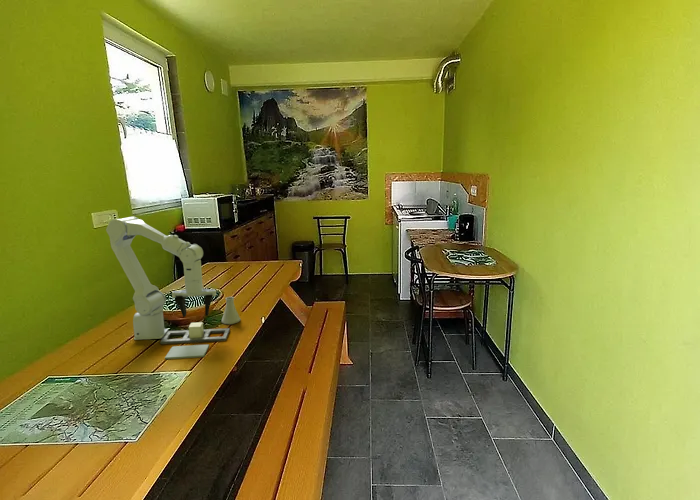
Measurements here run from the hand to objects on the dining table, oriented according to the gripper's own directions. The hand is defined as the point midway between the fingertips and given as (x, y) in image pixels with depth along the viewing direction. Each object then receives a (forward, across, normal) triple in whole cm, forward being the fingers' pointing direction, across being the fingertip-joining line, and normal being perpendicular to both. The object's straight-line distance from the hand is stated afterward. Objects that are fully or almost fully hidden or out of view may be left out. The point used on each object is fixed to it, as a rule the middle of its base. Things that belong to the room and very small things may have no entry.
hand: (195, 315), depth 135 cm
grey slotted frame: (+8, 0, 0) cm, 8 cm away
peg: (+8, 0, 0) cm, 9 cm away
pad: (+8, 0, -12) cm, 15 cm away
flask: (+9, +10, +14) cm, 19 cm away
